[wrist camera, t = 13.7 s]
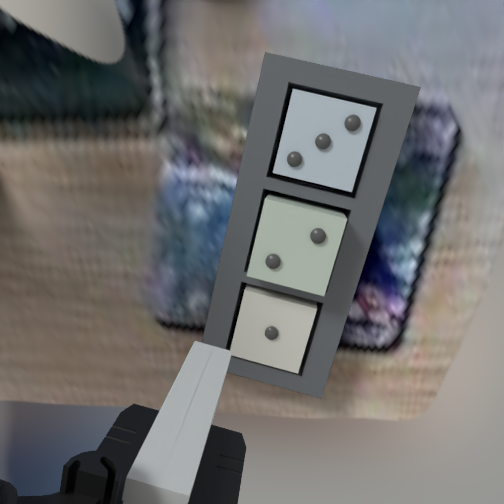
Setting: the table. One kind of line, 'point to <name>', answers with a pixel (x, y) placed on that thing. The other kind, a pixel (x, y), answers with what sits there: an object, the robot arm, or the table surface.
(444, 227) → the table surface
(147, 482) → the robot arm
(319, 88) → the keypad housing
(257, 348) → the key one
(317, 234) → the key two
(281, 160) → the key three
